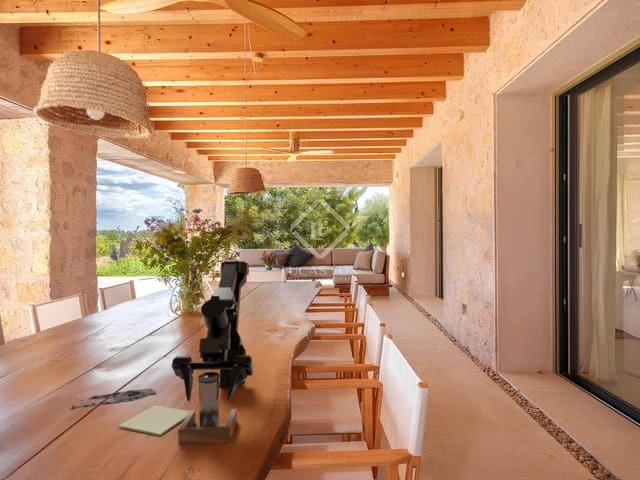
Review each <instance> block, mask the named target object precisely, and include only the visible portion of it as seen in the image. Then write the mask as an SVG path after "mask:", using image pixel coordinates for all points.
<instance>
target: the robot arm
mask: <svg viewBox="0 0 640 480" xmlns="http://www.w3.org/2000/svg"><path fill="white" fill-rule="evenodd" d="M249 274H250V266H249V263H248V262H246V261H245V260H238V259H225V260H222V262H220V275H221V276H220V278H219V279H220V280H219V284H218V288H217V290H215V291H214V292H212V293H211V296H210V299H208V300H207V301H205V302H204V303H202V305H201V307H200V311H201V315H202V318H203V321H204V322H203V323H204V325H205V327H206V328H207V331H206V337H205V338H200V339H199V344H198V345H199V346H198V353H200V355H199V358H200V359H201V361H193V359H192V357H191V356H190V355H177V356H175V357H174V358H173V359H172V362H171V368H172V370H173V373H174V375H175V376H176V377H179V379H180V380H182V381H183V382H184V383H183V384H184V388H185V389H184V390H185V397H186V401H187V402H190V401H191V397H192V391H193V384H194V383H193V382H194V375H193V374H194V371H198V370H199V371H200V370H201V371H204V370H205V371H207V370H219V387H224V388H228V391H227V401H228V402H229V401H231V399H232V397H233V395H234V393H235V392H236V391H237V388H238V386H240V385H241V384H242V383H244V382H246V379H248V376H253V373H254V363H253V357H252V356H251V355H249V354H248V355H247V350H246V348H245V345H244V344H243V340H242V338H241V336H240V334H239V319H240V309H241V307H240V306H241V305H240V303H241V295H242V291H241V290H242V288H243V286H244V285H245V284H246V283H247V278H248V276H249Z"/></svg>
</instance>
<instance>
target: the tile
mask: <svg viewBox="0 0 640 480" xmlns="http://www.w3.org/2000/svg"><path fill="white" fill-rule="evenodd" d="M189 411H190V410H185V409H178V408H173V407H169V406H168V407H167V406H162V405H156V404H154V405H153V406H150V407H148V408H147V409H145V410H143V411H142V412H140V413H139V414H136V415H134V416H133V417H131V418H129V419H127V421H124V422H123V423H120V424H119V425H118V427H119V428H120V429H124V430H129V431H132V432H133V431H134V432H140V433H142V434H144V433H145V434H148V435H149V434H150V435H153V436H158V437H162V436H163V435H165V434H166V433H167V432H168V431H170V430H171V429H173V428H174V427H176V426H178V425H179V424H181V423H183V421H184V419H185V418H186V416H187V414H188V413H189Z"/></svg>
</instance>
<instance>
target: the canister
mask: <svg viewBox="0 0 640 480" xmlns="http://www.w3.org/2000/svg"><path fill="white" fill-rule="evenodd" d="M197 376H198V377H197V378H198V393H199V394H198V404H199V405H198V408H199V410H198V412H199V414H198V415H199V417H198V419H199V421H198V423H199V427H221V426H220V386H219V381H220V372H216V371H206V372H203V373H200V374H198V375H197Z"/></svg>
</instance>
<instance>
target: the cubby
mask: <svg viewBox="0 0 640 480" xmlns="http://www.w3.org/2000/svg"><path fill="white" fill-rule="evenodd" d="M237 410H238V409H236V408H235V409H234V408H233V409H231V410H230V414H229V415H228V418H227V420H226V423H225V425H224V426H220V427H200V426H195V423H196V409H190V410H188V411H189V413H188V414H187V416H186V418H185V419H184V420H183V421H182V422H181V423H180V426H179V428H178V429H177V437H178V439H177V440H178V441H177V443H178V444H211V443H214V444H215V443H217V444H218V443H219V444H220V443H221V444H222V443H231V441H232V436H233V434H234V431H235V428H236V424H237V421H238V420H237V419H238V417H237V416H238V415H237V413H238V412H237Z"/></svg>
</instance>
